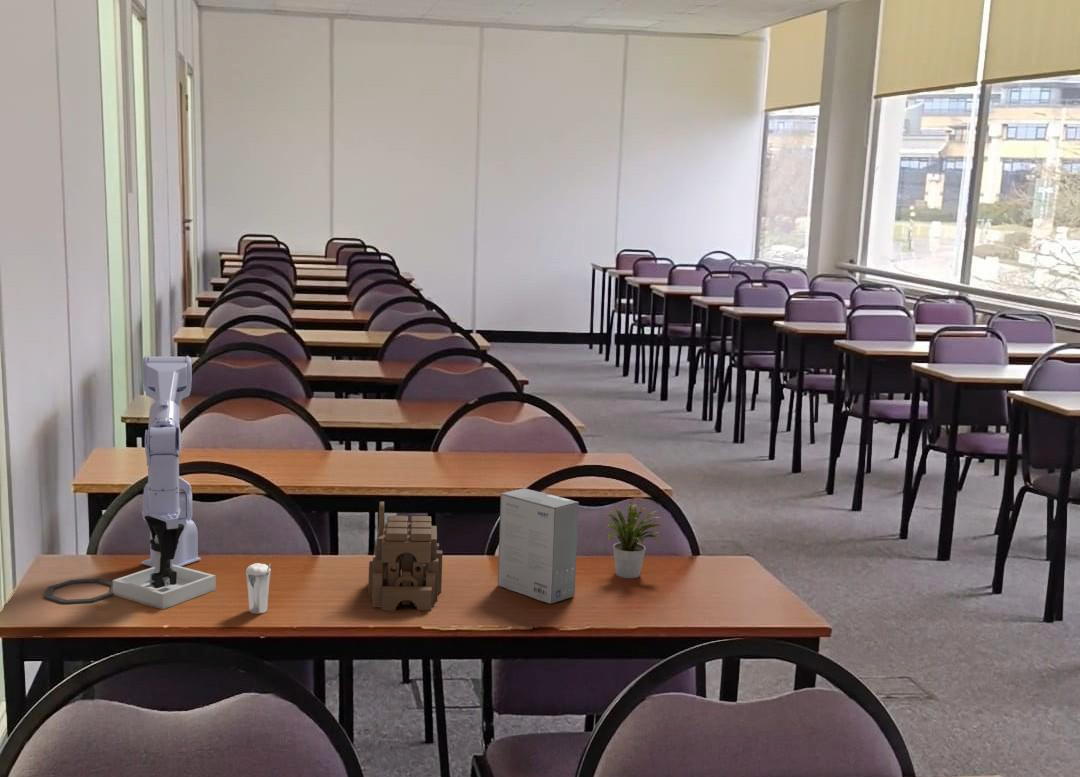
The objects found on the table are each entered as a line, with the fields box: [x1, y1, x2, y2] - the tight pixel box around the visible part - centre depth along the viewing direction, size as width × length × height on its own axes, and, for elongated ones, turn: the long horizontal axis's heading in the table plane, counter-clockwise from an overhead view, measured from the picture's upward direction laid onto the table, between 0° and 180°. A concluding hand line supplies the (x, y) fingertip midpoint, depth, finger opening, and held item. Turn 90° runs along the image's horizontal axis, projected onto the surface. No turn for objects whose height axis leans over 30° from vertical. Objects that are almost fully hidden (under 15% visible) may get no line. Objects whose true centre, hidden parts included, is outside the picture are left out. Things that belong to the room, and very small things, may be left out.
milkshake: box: [245, 562, 272, 615], centre depth 216 cm, size 4×5×10 cm
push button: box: [145, 535, 179, 589], centre depth 223 cm, size 7×5×10 cm
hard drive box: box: [497, 488, 580, 605], centre depth 233 cm, size 16×8×20 cm, turn 47°
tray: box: [112, 564, 217, 610], centre depth 225 cm, size 14×14×3 cm
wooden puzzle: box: [367, 501, 443, 612], centre depth 230 cm, size 22×15×19 cm, turn 6°
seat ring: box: [43, 577, 115, 605], centre depth 223 cm, size 13×13×1 cm
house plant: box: [604, 500, 666, 579], centre depth 245 cm, size 14×14×16 cm
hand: (164, 555), depth 224 cm, fingers closed on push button, 5 cm apart
